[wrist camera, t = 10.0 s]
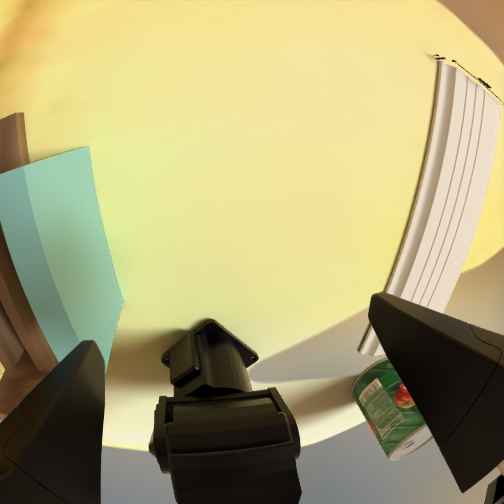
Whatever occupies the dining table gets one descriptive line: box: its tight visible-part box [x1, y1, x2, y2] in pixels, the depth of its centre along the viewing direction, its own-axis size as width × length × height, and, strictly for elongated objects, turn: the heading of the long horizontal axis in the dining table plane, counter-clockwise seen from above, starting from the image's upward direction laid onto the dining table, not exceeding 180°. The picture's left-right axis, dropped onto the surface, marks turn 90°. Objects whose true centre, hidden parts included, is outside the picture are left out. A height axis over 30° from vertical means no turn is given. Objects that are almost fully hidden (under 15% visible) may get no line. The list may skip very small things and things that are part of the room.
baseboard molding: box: [357, 54, 501, 356], centre depth 25 cm, size 31×3×12 cm
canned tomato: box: [351, 358, 433, 461], centre depth 28 cm, size 8×8×11 cm
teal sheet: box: [0, 146, 124, 375], centre depth 15 cm, size 2×12×9 cm, turn 4°
